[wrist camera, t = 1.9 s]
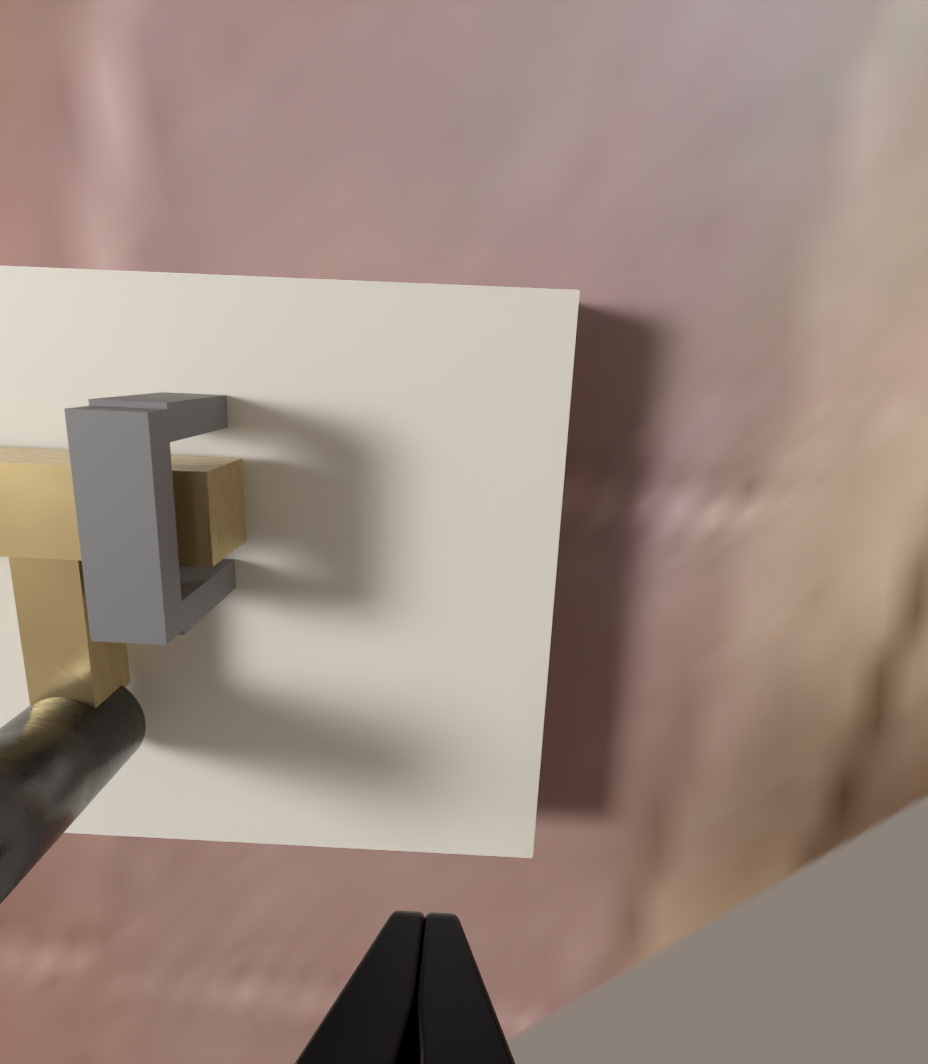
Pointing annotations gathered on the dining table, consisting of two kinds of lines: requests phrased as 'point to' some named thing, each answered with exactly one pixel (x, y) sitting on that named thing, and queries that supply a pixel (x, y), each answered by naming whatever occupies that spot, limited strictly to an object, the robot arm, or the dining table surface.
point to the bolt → (80, 643)
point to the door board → (309, 545)
